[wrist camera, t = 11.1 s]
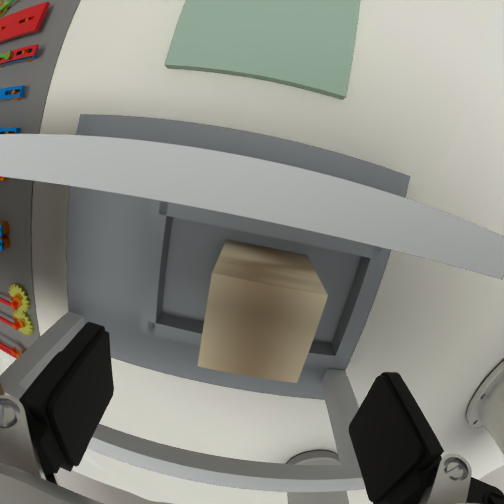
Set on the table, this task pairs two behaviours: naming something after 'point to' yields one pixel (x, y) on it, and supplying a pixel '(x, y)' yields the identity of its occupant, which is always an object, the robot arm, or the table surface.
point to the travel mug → (334, 500)
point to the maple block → (261, 312)
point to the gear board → (24, 122)
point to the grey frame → (207, 253)
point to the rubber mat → (270, 41)
